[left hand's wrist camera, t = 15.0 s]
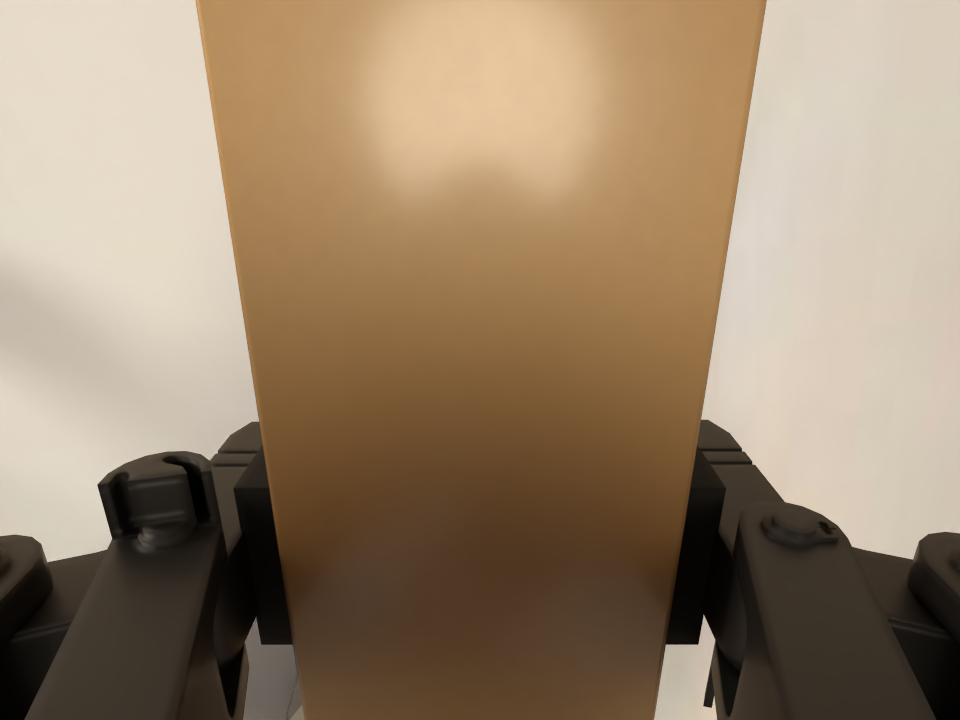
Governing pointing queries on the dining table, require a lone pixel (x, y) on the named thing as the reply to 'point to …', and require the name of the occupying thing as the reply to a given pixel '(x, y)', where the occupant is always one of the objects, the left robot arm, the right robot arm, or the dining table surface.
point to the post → (480, 331)
